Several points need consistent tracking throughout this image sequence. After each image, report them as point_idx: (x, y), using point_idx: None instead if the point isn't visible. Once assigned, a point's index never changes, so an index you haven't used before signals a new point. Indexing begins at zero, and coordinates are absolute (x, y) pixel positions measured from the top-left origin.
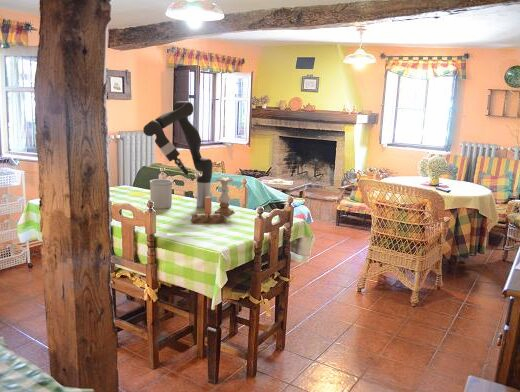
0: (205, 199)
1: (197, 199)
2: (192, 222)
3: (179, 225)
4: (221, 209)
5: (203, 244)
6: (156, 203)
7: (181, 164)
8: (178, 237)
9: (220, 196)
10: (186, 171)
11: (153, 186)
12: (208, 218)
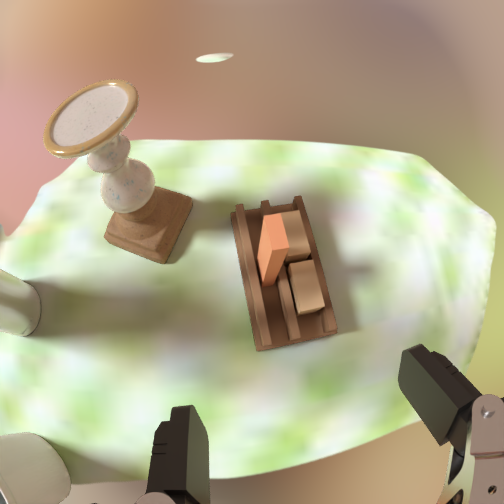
0: (286, 251)
1: (10, 329)
2: (329, 331)
3: (327, 384)
4: (157, 217)
5: (479, 261)
6: (62, 493)
7: (496, 479)
8: (454, 343)
9: (127, 193)
10: (453, 370)
11: None
12: (319, 260)
